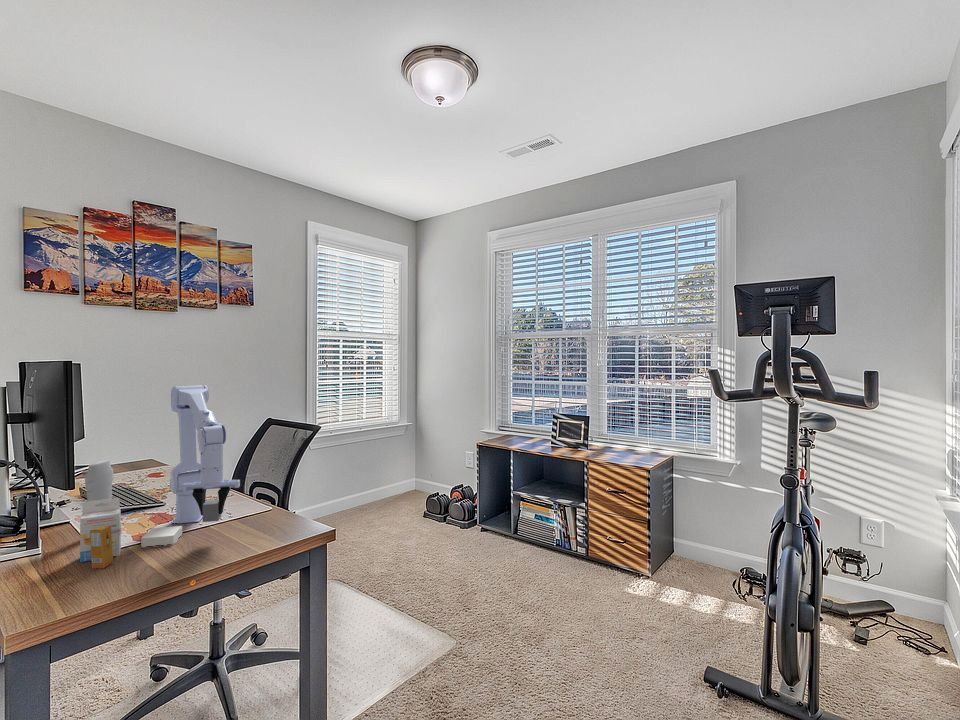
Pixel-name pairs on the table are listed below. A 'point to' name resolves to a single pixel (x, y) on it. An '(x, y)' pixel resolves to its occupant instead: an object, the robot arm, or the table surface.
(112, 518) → the ink box
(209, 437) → the robot arm
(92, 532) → the supplement box
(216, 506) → the charcoal block
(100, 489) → the tall pale column
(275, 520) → the table surface
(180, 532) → the base block
